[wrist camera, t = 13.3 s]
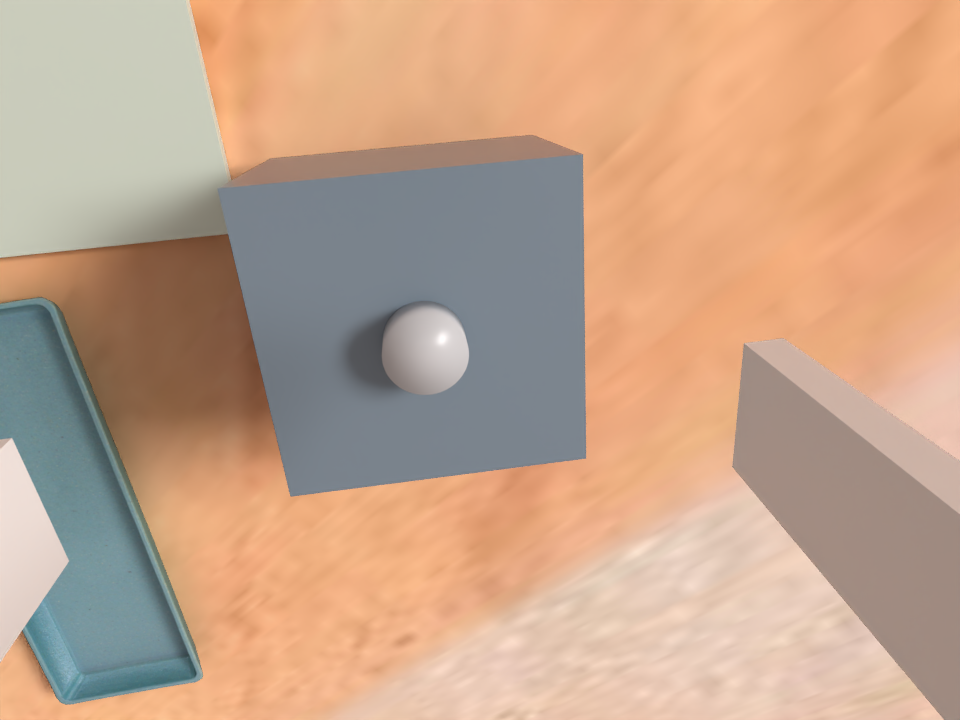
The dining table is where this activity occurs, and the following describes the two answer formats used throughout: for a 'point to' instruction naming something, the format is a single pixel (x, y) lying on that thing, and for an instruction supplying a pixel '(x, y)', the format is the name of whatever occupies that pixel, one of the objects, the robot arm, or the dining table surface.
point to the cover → (416, 308)
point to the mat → (105, 126)
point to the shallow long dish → (86, 524)
